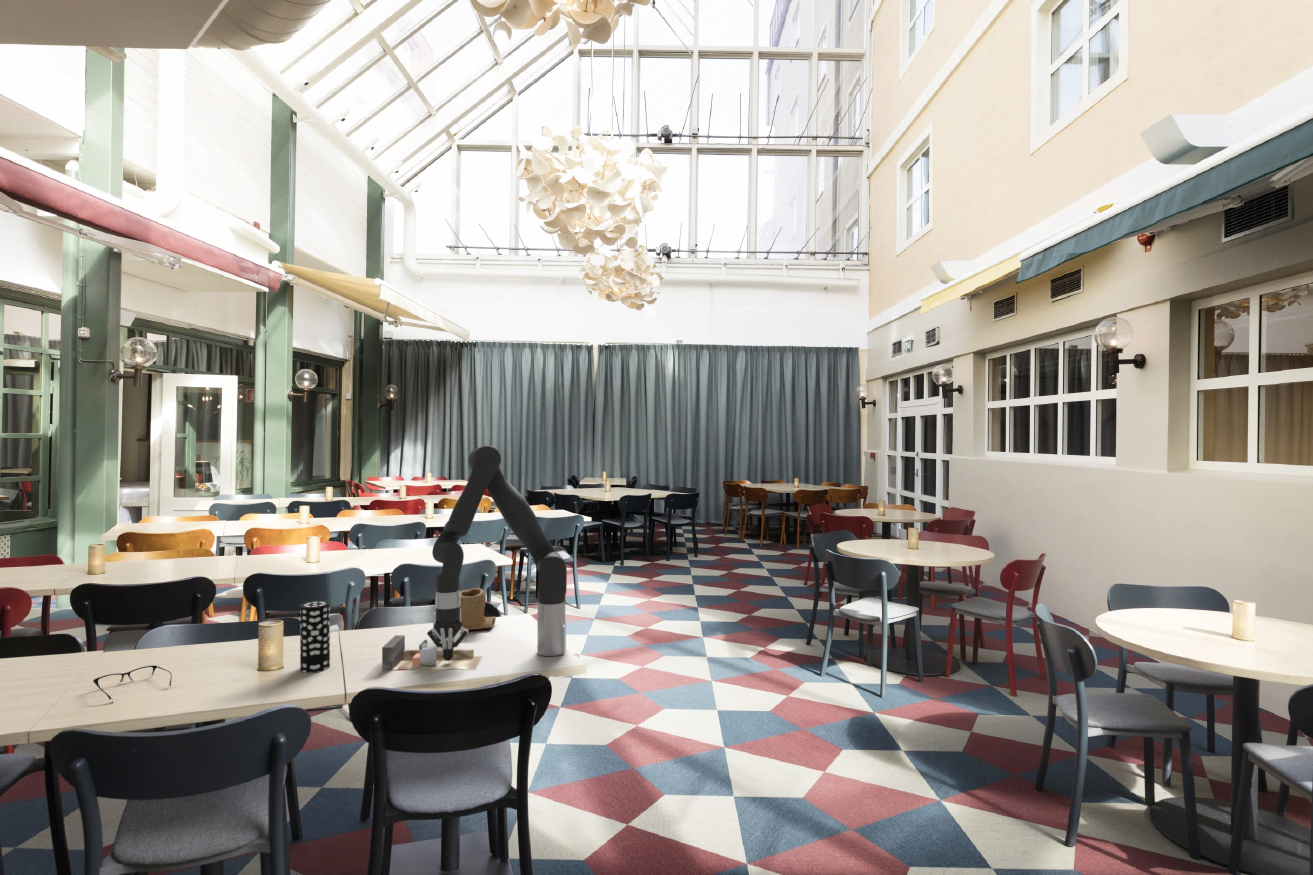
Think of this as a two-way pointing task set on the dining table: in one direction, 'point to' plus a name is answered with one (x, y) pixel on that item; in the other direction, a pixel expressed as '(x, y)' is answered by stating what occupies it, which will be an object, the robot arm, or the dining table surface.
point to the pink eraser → (416, 660)
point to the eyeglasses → (128, 675)
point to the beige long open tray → (402, 659)
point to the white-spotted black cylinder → (314, 636)
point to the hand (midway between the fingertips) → (448, 659)
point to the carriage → (429, 654)
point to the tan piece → (474, 610)
